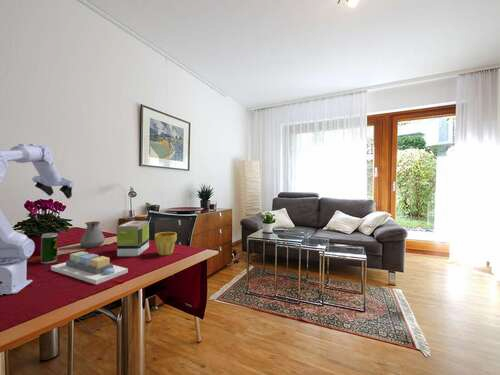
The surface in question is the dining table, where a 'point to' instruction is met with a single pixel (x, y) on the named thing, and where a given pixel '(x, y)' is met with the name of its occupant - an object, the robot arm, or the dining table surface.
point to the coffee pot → (92, 235)
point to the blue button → (87, 259)
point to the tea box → (132, 238)
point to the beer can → (49, 248)
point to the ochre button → (99, 262)
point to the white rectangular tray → (89, 271)
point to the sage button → (77, 256)
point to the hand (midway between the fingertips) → (60, 195)
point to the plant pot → (165, 242)
